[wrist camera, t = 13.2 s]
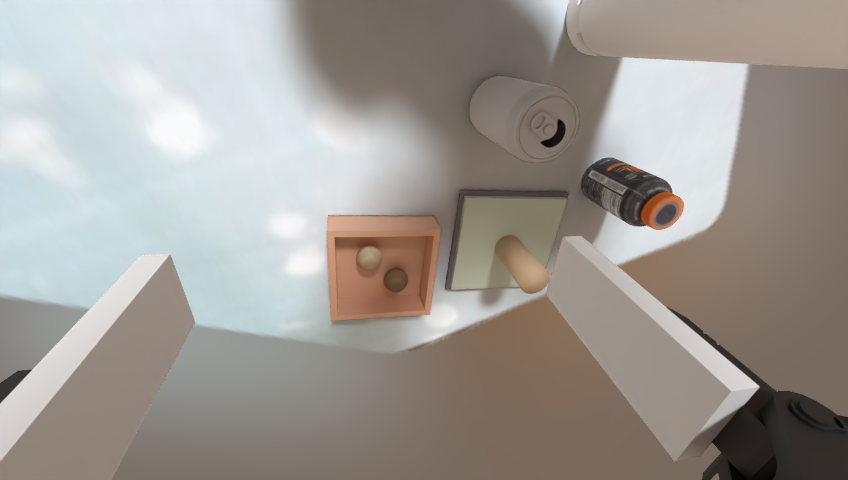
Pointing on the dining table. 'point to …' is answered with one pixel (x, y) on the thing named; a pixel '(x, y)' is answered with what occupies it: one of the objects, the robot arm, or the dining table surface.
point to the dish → (400, 247)
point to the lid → (506, 242)
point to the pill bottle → (632, 194)
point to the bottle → (714, 30)
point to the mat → (487, 193)
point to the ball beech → (369, 258)
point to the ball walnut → (395, 280)
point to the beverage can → (525, 117)
